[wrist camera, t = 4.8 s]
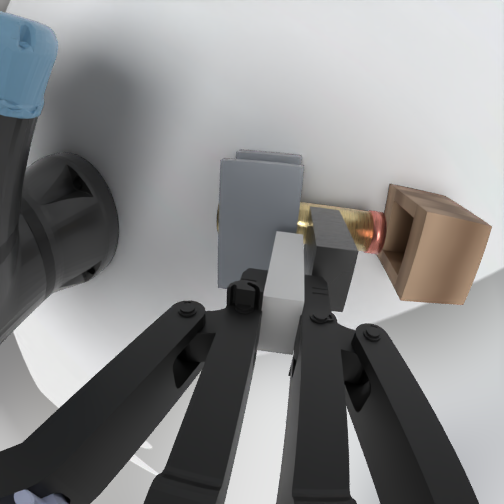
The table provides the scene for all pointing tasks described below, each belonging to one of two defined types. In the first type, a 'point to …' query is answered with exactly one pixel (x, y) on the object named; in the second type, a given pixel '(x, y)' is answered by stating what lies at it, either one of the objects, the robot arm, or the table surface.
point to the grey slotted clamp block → (255, 209)
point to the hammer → (337, 243)
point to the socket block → (431, 246)
